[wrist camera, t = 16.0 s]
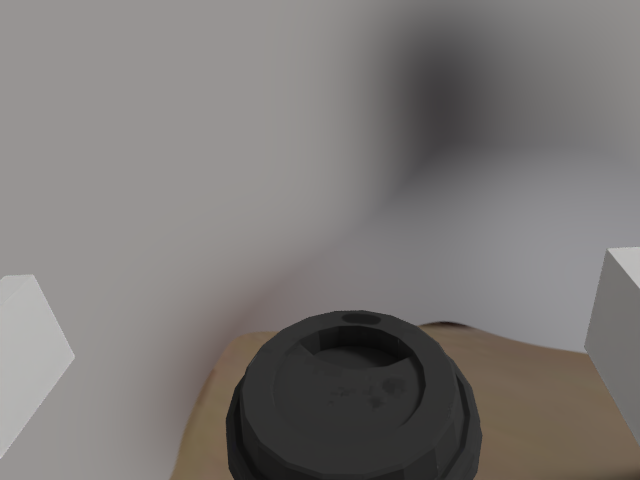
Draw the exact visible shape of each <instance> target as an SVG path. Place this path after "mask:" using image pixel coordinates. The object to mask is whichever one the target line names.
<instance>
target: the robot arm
mask: <svg viewBox="0 0 640 480" xmlns="http://www.w3.org/2000/svg"><path fill="white" fill-rule="evenodd" d="M584 347H585V349H586V351H587V353H588V355H589V356H590V358H591V360H592V362H593V364H594V365H595V367H596V369H597V371H598V373H599V374H600V376H601V378H602V380H603V382H604V383H605V385H606V387H607V389H608V391H609V392H610V394H611V396H612V398H613V400H614V401H615V403H616V405H617V407H618V409H619V410H620V412H621V414H622V416H623V418H624V419H625V421H626V423H627V425H628V427H629V428H630V430H631V432H632V434H633V436H634V437H635V439H636V441H637V443H638V445H639V446H640V247H629V248H608V249H606V254H605V258H604V262H603V267H602V271H601V276H600V280H599V285H598V289H597V293H596V297H595V302H594V306H593V311H592V315H591V319H590V324H589V328H588V332H587V337H586V341H585V346H584ZM74 358H75V356H74V354H73V352H72V350H71V348H70V346H69V344H68V342H67V340H66V339H65V336H64V334H63V332H62V330H61V328H60V326H59V324H58V322H57V320H56V318H55V316H54V314H53V312H52V311H51V308H50V307H49V304H48V302H47V300H46V298H45V297H44V295H43V293H42V291H41V289H40V287H39V285H38V283H37V281H36V279H35V277H34V275H14V276H13V275H12V276H5V277H3V278H2V279H1V280H0V459H1V458H2V456H3V455H4V454H5V452H6V451H7V450H8V448H9V447H10V445H11V444H12V443H13V441H14V440H15V439H16V437H17V436H18V435H19V433H20V432H21V430H22V429H23V428H24V426H25V425H26V423H27V422H28V421H29V420H30V418H31V417H32V415H33V414H34V413H35V411H36V410H37V409H38V407H39V406H40V404H41V403H42V402H43V400H44V399H45V398H46V396H47V395H48V394H49V392H50V391H51V389H52V388H53V387H54V385H55V384H56V383H57V381H58V380H59V379H60V377H61V376H62V374H63V373H64V372H65V370H66V369H67V368H68V366H69V365H70V363H71V362H72V360H73V359H74Z"/></svg>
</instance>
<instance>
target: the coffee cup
mask: <svg viewBox="0 0 640 480" xmlns="http://www.w3.org/2000/svg"><path fill="white" fill-rule="evenodd" d="M226 432H227V433H226V438H227V451H228V465H229V470H230V472H231V474H232V476H233V478H234V480H473V479H474V477H475V475H476V473H477V470H478V463H479V456H480V449H481V442H482V432H481V428H480V418H479V414H478V410H477V406H476V403H475V399H474V395H473V391H472V387H471V386H470V384H469V383H468V381H467V380H466V378H465V377H464V375H463V374H462V372H461V371H460V369H459V368H458V367H457V365H456V364H455V362H454V361H453V360H452V359H451V358H450V357H449V356H447V355H446V353H445V352H444V350H443V349H442V347H441V346H440V344H439V343H438V342H436V341H435V340H434V339H433V338H431V337H430V336H429V335H428V334H426V333H425V332H424V331H422V330H421V329H420V328H419V327H417V326H415V325H413V324H410V323H408V322H406V321H403V320H401V319H399V318H396V317H394V316H391V315H386V314H380V313H375V312H369V311H363V310H359V311H334V312H330V313H325V314H321V315H316V316H312V317H308V318H306V319H304V320H302V321H300V322H298V323H295V324H293V325H291V326H289V327H287V328H285V329H283V330H282V331H280V332H279V333H278V334H277V335H275V336H274V337H273V338H271V339H270V340H269V341H268V342H266V343H265V344H264V345H263V346H262V347H261V348H260V350H259V351H258V352H257V354H256V355H255V357H254V358H253V359H252V361H251V362H250V364H249V365H248V367H247V369H246V372H245V375H244V376H243V378H242V379H241V380H240V382H239V383H238V385H237V386H236V387H235V390H234V394H233V397H232V400H231V404H230V407H229V410H228V414H227V417H226Z"/></svg>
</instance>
